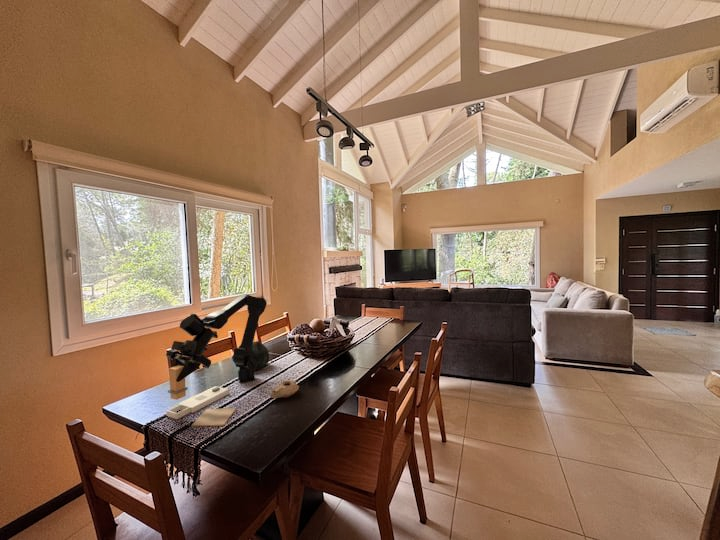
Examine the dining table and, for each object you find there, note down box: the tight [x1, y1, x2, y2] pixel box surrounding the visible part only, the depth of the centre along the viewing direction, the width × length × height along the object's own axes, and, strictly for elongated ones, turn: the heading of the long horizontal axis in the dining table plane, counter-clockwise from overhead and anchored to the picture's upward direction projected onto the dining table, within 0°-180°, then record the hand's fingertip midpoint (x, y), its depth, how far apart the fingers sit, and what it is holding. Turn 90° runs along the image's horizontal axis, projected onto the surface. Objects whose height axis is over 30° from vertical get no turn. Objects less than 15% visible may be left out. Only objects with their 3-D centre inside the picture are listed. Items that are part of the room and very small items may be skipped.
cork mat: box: [190, 407, 237, 428], centre depth 106 cm, size 11×11×1 cm
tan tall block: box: [167, 365, 189, 400], centre depth 108 cm, size 4×4×11 cm
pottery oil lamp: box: [269, 380, 300, 399], centre depth 121 cm, size 9×12×7 cm
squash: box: [252, 340, 270, 370], centre depth 153 cm, size 14×15×15 cm
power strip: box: [165, 385, 230, 420], centre depth 116 cm, size 22×8×3 cm, turn 156°
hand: (173, 380), depth 107 cm, fingers closed on tan tall block, 3 cm apart
